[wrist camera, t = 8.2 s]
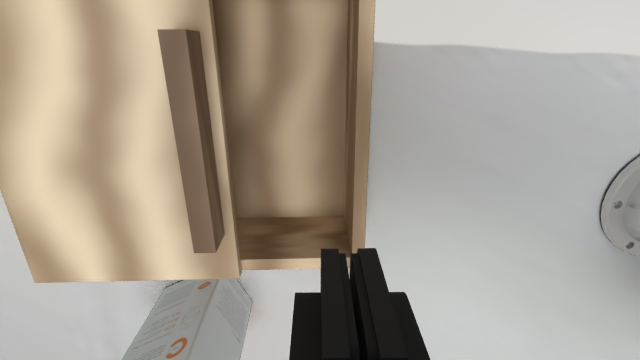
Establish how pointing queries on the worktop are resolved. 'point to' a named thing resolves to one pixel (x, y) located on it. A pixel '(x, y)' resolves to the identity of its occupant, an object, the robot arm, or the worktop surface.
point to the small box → (195, 322)
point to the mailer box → (297, 125)
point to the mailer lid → (116, 140)
